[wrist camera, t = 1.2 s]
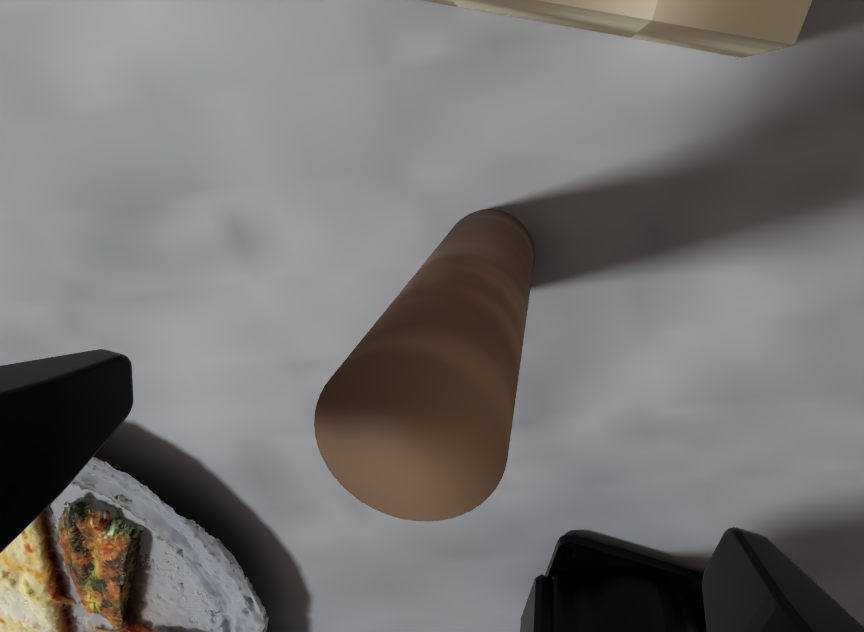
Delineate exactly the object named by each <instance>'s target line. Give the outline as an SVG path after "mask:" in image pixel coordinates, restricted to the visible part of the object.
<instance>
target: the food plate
mask: <svg viewBox="0 0 864 632" xmlns="http://www.w3.org/2000/svg"><path fill="white" fill-rule="evenodd" d="M120 469H121V468H120ZM120 469H119V471H118V470H116V469H114V468H113V467H112V466H110V465H109V464H108V463H107V462H104V461H101V460H99V459H97V458H95V457H92V458H91V460H90V461H89V462H88V463H87V464H86V465H85V467H84V468H83V469H82V470H81V471H80V472H79V474H78V475H77V476H76V477H75V478H74V480H73V481H72V482H71V483H70V484H71V485H73V486H79V487H80V488H81V490H82V489H88V490H91V491H94V492H97V493H99V494H101V495H104V496H106V497H108V498H109V499H111V500H112V501H113V502H116V503H117V504H119V505H120V506H121V507H123V508H125V509H127V510H128V511H130V512H131V513H132V514H133V515H134V516H136V517H137V518H139V519H141V520H143V521H144V522H145V523H146V525H147V526H149V527H150V528H151V529H152V530H154V531H155V532H156V533H158V534H159V535H160V536H156V540H157V541H158V540H162V541H163V539H164V540H165V541H166V543H167V544H168V545H169V546H171V547H172V548H171V551H172V555H168V554H167V553H165V552H164V555H167V556H170V557H171V558H172V559H174V561H175V562H176V565H175V566H174V567H172V566H171V565H170V564H169V563H168V562H169V561H168V562H166V561H165V559H163V563H158V564H155V563H154V562H153V561H154V560H153V559H151V558H149V557H145V561H146V562H148V566H147V565H146V566H142V565H140V564H142V563H143V562H144V561H143V562H142V561H141V557H143V556H140V555H139V554H138V553H139V550H140V545H139V542H140V533H141V532H142V531H143V529H144V528H143V526H140V525H138V526H134V524H132V523H131V522H129V521H126V520H124V519H123V518H121V517H120V516H119V515H118V514H117V511H116V509H115V508H114V507H110V506H108V505H106V504H105V503H102V502H100V501H98V500H97V499H91V498H82V497H80V498H77V500H76V501H74V502H72V503H65V504H64V507H65V511H64V512H63V514H62V516H61V517H60V519H59V522H58V523H57V521H56V517H55V515H54V514H52V513H49V512H51V510H50V508H49V506H48V507H47V508H46V509H45V510H44V511H43V512H42V513H41V514H40V515H39V516H38V517H37V518H36V519H35V520H34V521H33V522H32V523H31V524H30V525H29V526H28V527H27V528H26V529H25V530H24V531H23V532H22V533H21V534H20V535H19V536H18V537H17V538H15V539H14V540H13V541H12V542H11V543H10V544H9V545H8V546H7V547H6V548H5V549H4V550H3V551H2V552H1V553H0V632H262V631H263V629H264V632H266V630H267V626H268V619H269V617H268V616H267V614H266V610H265V609H264V606H263V605H261V603H262V602H260V600H261V599H259V597H258V596H257V595H256V594H255V593H256V591H253V585H252V584H250V582H249V579H248V577H246V576H244V575H245V574H243V573H244V572H243V569H242V568H241V565H238V562H237V561H236V560H235V557H234V556H233V555H232V554H231V553H230V552H229V551H228V550H227V549H226V548H225V546H224V545H223V544H222V543H221V541H220V540H219V539H218V538H217V539H216V538H214V537H213V536H210V535H208V533H207V532H206V533H205V529H204V528H203V527H200V525H197V524H196V523H195V521H196V520H195V521H194V520H187V519H186V518H185V517H182V516H179V515H178V514H176V513H175V511H174V510H173V508H171V507H170V506H169V505H167V504H165V503H163V502H164V501H160V499H159V497H158V496H156V494H153V493H152V491H151V490H149V489H148V487H147V486H144V485H142V484H140V483H139V482H138V481H137V480H135V479H134V478H132V476H130V475H129V474H127V473H125V472H121V471H120ZM55 501H57V500H56V499H55ZM55 523H56V524H58V526H59V527H58V528H56V527H55V526H56V524H55ZM168 545H167V546H166V547H167V548H169V546H168ZM177 555H180V556H181V557H182V558H183V559H184V560H185V561H186V562H187V563H185V564H184V571H183V572H184V575H183V576H180V575H178V573H177V572H178V571H179V567H178V564H177V562H178V561H179V560H178V559H177V558H176V557H175V556H177ZM146 556H147V554H146ZM148 556H151V555H150V554H148ZM150 565H151V566H153V569H151V568H150ZM141 567H142V568H141ZM158 567H160V569H159V568H158ZM137 568H138V569H137ZM165 568H167V569H168V570H167V572H169V573H167V572H166V576H160V575H159V574H158V573H159V572H161V571H162V570H165ZM170 568H173V569H174V570H175V571H176V572H175V571H172V570H170ZM174 575H176V576H177V577H178V578H177V579H176V580H175V579H173V578H172V576H174ZM165 580H166V582H165ZM190 583H191V584H193V585H194V586H195V588H194V594H195V595H196V596H197V598H198V600H199V601H198V602H197V601H195V602H194V604H195V605H190V608H186V607H184V608H183V607H179V606H180V602H179V599H180V598H182V599H183V601H184V602H187V600H186V598H187V597H186V596H185V595H183V594H182V592H184V589H185V587H184V586H183V585H182V584H186V585H188V584H190ZM177 589H178V590H177ZM199 589H200V590H199ZM189 591H191V589H189ZM187 593H188V594H190V595H193V593H190V592H187ZM202 594H204V597H205V598H206V600H207V602H208V604H207V603H205V602H204V600H203V599H202V597H203V596H202ZM182 595H183V596H182ZM207 610H208V612H209V613H208V612H207ZM212 610H213V611H215V613H216V614H217V616H215V615H214V613H213V611H212ZM208 614H209V615H208ZM191 617H194V618H195V619H196V620H197V622H192V621H191V620H190V618H191ZM214 617H215V618H216V620H217V622H216V623H215V622H214V621H213V618H214ZM205 627H206V628H205Z"/></svg>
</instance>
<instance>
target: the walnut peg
mask: <svg viewBox="0 0 864 632" xmlns="http://www.w3.org/2000/svg"><path fill="white" fill-rule="evenodd" d="M533 264H534V246H533V241H532V239H531V236H530V234H529V232H528V231H527V229H526V228H525V226H524V225H523V224H522V223H521V222H520V221H518V220H517V219H516V218H514V217H513V216H511V215H509V214H507V213H505V212H501V211H497V210H481V211H477V212H474V213H471V214H469V215H467V216H465V217H464V218H463V219H461V220H460V221H459V222H458V223H457V224H456V225H455V226H454V227H453V229H452V230H451V231H450V232H449V233H448V235H447V236H446V237H445V238H444V240H443V241H442V242H441V243H440V245H439V246H438V247H437V248H436V249H435V251H434V252H433V253H432V254H431V256H430V257H429V258H428V259H427V261H426V262H425V263H424V264H423V265H422V267H421V268H420V269H419V270H418V272H417V273H416V274H415V275H414V276H413V278H412V279H411V280H410V281H409V283H408V284H407V285H406V286H405V288H404V289H403V290H402V291H401V292H400V294H399V295H398V296H397V297H396V299H395V300H394V301H393V302H392V304H391V305H390V306H389V307H388V308H387V310H386V311H385V312H384V313H383V315H382V316H381V317H380V318H379V319H378V321H377V322H376V323H375V324H374V326H373V327H372V328H371V329H370V331H369V332H368V333H367V334H366V335H365V337H364V338H363V339H362V340H361V342H360V343H359V344H358V345H357V347H356V348H355V349H354V350H353V351H352V353H351V354H350V355H349V356H348V358H347V359H346V360H345V361H344V362H343V364H342V365H341V366H340V367H339V369H338V370H337V371H336V372H335V374H334V375H333V376H332V377H331V379H330V380H329V381H328V382H327V384H326V385H325V387H324V389H323V390H322V392H321V394H320V397H319V399H318V402H317V406H316V411H315V422H314V427H315V436H316V440H317V444H318V448H319V450H320V453H321V455H322V458H323V460H324V461H325V463H326V465H327V467H328V468H329V470H330V471H331V473H332V474H333V476H334V477H335V478H336V479H337V480H338V482H339V483H340V484H341V485H342V486H343V487H344V488H345V489H346V490H347V491H348V492H350V493H351V494H352V495H353V496H355V497H356V498H357V499H359V500H360V501H361V502H363V503H365V504H366V505H368V506H370V507H372V508H374V509H376V510H378V511H380V512H382V513H385V514H388V515H391V516H394V517H398V518H402V519H407V520H414V521H439V520H445V519H450V518H453V517H457V516H460V515H462V514H465V513H467V512H469V511H471V510H473V509H474V508H476V507H477V506H479V505H480V504H481V503H483V502H484V501H485V500H486V499H487V498H488V497H489V496H490V495H491V494H492V493H493V491H494V490H495V489H496V487H497V486H498V484H499V482H500V480H501V479H502V476H503V473H504V471H505V467H506V462H507V457H508V450H509V442H510V435H511V428H512V420H513V413H514V405H515V398H516V390H517V383H518V375H519V368H520V361H521V353H522V346H523V338H524V331H525V323H526V316H527V309H528V301H529V294H530V286H531V279H532V271H533Z"/></svg>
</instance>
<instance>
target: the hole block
mask: <svg viewBox="0 0 864 632" xmlns="http://www.w3.org/2000/svg"><path fill="white" fill-rule="evenodd" d="M424 1H429V2H435V3H440V4H446V5H452V6H457V7H463V8H468V9H474V10H480V11H485V12H491V13H496V14H502V15H508V16H513V17H519V18H524V19H530V20H536V21H541V22H547V23H552V24H558V25H563V26H569V27H575V28H580V29H586V30H591V31H597V32H603V33H608V34H614V35H619V36H625V37H631V38H636V39H642V40H647V41H653V42H659V43H664V44H670V45H675V46H681V47H686V48H692V49H698V50H703V51H709V52H714V53H720V54H726V55H731V56H737V57H742V58H743V57H747V56H751V55H755V54H760V53H764V52H768V51H772V50H776V49H780V48H785V47H789V46H793V45H795V43H796V40H797V38H798V35H799V33H800V30H801V28H802V25H803V23H804V20H805V18H806V15H807V13H808V10H809V8H810V5H811V3H812V0H424Z"/></svg>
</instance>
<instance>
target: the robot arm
mask: <svg viewBox="0 0 864 632" xmlns="http://www.w3.org/2000/svg"><path fill="white" fill-rule="evenodd" d="M132 405H133V384H132V365H131V362H130V360H129V358H128V357H127V356H125V355H122V354H119V353H115V352H112V351H108V350H103V349H100V350H93V351H87V352H81V353H75V354H69V355H63V356H57V357H51V358H45V359H39V360H33V361H27V362H21V363H15V364H9V365H3V366H0V553H1V552H2V551H3V550H4V549H5V548H6V547H7V546H8V545H9V544H10V543H11V542H12V541H13V540H14V539H15V538H17V537H18V536H19V535H20V534H21V533H22V532H23V531H24V530H25V529H26V528H27V527H28V526H29V525H30V524H31V523H32V522H33V521H34V520H35V519H36V518H37V517H38V516H39V515H40V514H41V513H42V512H43V511H44V510H45V509H46V508H47V507H48V506H49V505H50V504H51V503H52V502H53V501H54V500H55V499H56V498H57V497H58V496H59V495H60V494H61V493H62V492H63V491H64V490H65V488H66V487H67V486H68V485H69V484H70V483H71V482H72V481H73V480H74V478H75V477H76V476H77V475H78V474H79V472H80V471H81V470H82V469H83V468H84V467H85V465H86V464H87V463H88V462H89V461H90V460H91V458H92V457H93V456H94V455H95V454H96V453H97V451H98V450H99V449H100V448H101V447H102V446H103V444H104V443H105V442H106V441H107V440H108V439H109V437H110V436H111V435H112V434H113V433H114V432H115V430H116V429H117V428H118V427H119V426H120V425H121V423H122V422H123V421H124V420H125V419H126V417H127V416H128V414H129V413H130V411H131V408H132ZM568 547H572V548H574V549H573V550H568V549H566V548H568ZM520 632H864V627H863V626H862V625H861V624H860V623H859V622H858V621H857V620H855V619H854V618H853V617H852V616H851V615H850V614H849V613H848V612H847V611H846V610H845V609H843V608H842V607H841V606H840V605H839V604H838V603H837V602H836V601H835V600H834V599H833V598H831V597H830V596H829V595H828V594H827V593H826V592H825V591H824V590H823V589H822V588H821V587H819V586H818V585H817V584H816V583H815V582H814V581H813V580H812V579H811V578H810V577H809V576H807V575H806V574H805V573H804V572H803V571H802V570H801V569H800V568H799V567H798V566H797V565H795V564H794V563H793V562H792V561H791V560H790V559H789V558H788V557H787V556H786V555H785V554H783V553H782V552H781V551H780V550H779V549H778V548H777V547H776V546H775V545H774V544H773V543H771V542H770V541H769V540H768V539H767V538H766V537H764V536H762V535H760V534H757V533H753V532H750V531H746V530H743V529H739V528H735V527H733V528H730V529H728V530H727V531H726V532H725V533H724V534H723V536H722V538H721V540H720V542H719V544H718V545H717V547H716V549H715V551H714V553H713V555H712V557H711V559H710V561H709V563H708V565H707V567H706V569H705V571H704V574H703V573H699V572H696V571H693V570H689V569H686V568H682V567H679V566H676V565H672V564H669V563H665V562H662V561H659V560H655V559H652V558H649V557H645V556H642V555H638V554H635V553H632V552H628V551H625V550H621V549H618V548H615V547H611V546H608V545H604V544H601V543H598V542H594V541H591V540H587V539H584V538H581V537H577V536H574V535H564V536H562V537H560V538H559V540H558V542H557V544H556V547H555V550H554V553H553V555H552V558H551V561H550V563H549V566H548V569H547V572H546V574H545V576H544V575H540V576H538V577H536V578H535V580H534V583H533V586H532V589H531V592H530V595H529V597H528V600H527V603H526V606H525V609H524V611H523V614H522V617H521V629H520Z"/></svg>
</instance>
